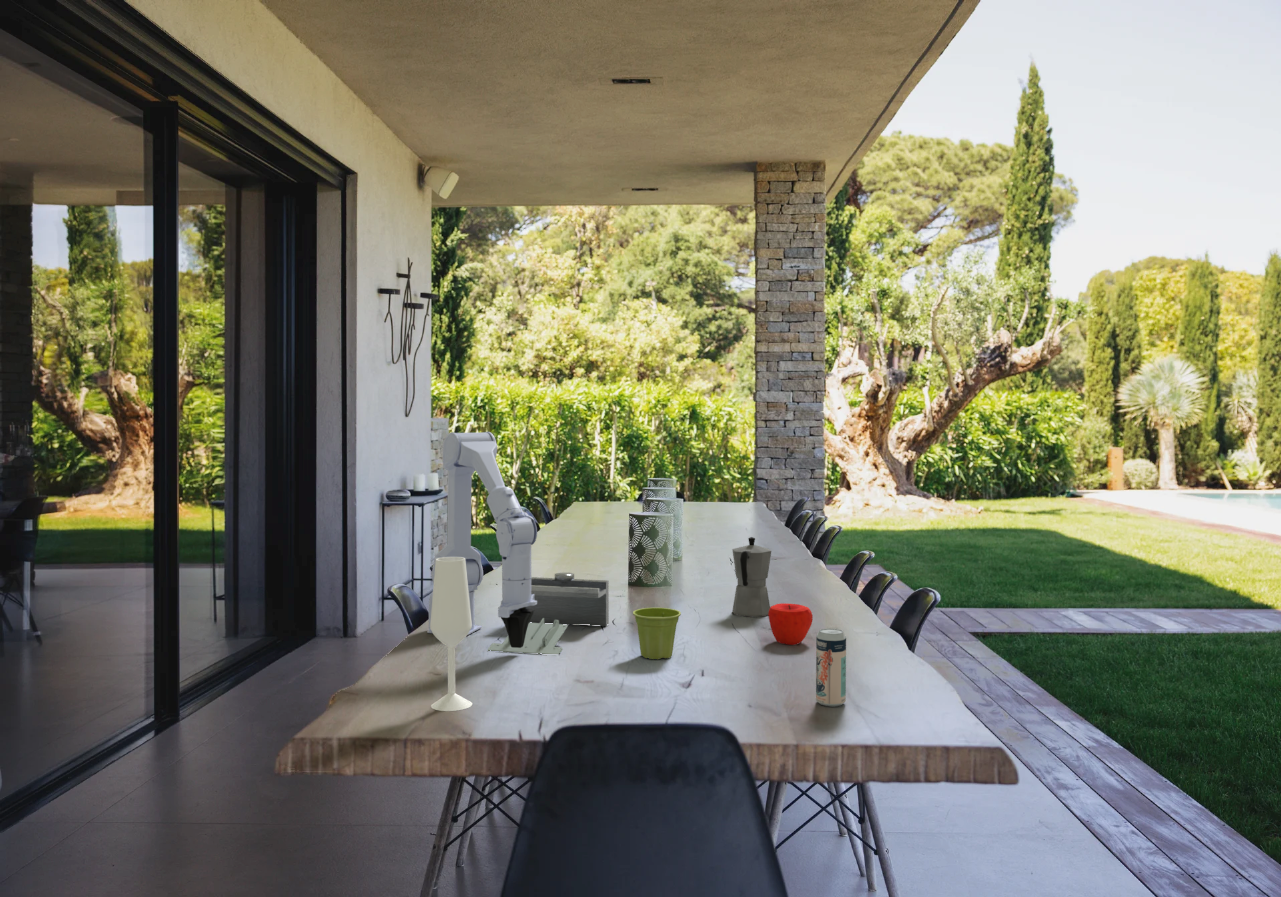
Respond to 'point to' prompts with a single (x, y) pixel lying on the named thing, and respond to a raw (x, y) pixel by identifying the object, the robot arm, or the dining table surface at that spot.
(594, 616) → the stand
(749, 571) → the coffeepot
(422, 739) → the dining table surface
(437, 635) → the champagne flute
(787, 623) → the apple
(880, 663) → the dining table surface
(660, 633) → the plant pot
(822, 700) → the beer can
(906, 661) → the dining table surface
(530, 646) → the metal bracket
